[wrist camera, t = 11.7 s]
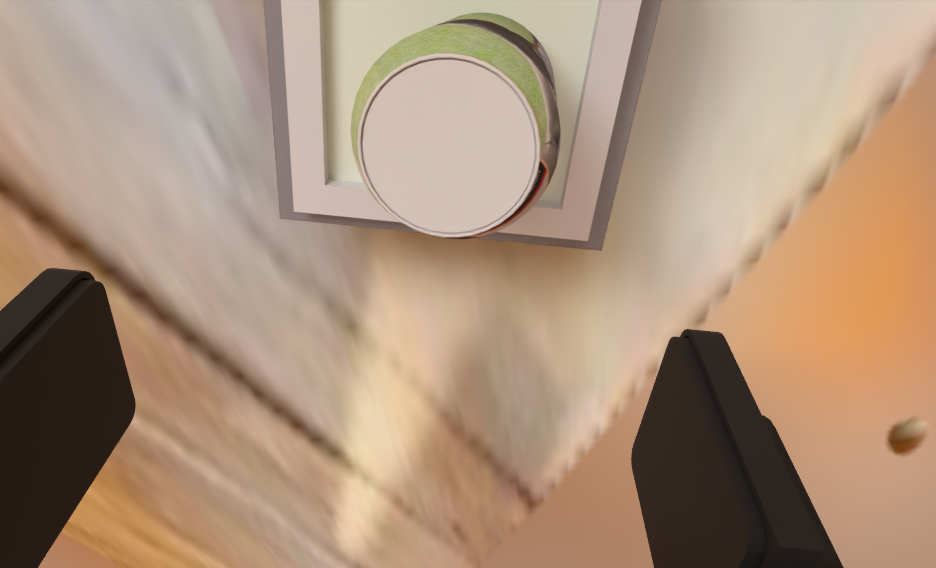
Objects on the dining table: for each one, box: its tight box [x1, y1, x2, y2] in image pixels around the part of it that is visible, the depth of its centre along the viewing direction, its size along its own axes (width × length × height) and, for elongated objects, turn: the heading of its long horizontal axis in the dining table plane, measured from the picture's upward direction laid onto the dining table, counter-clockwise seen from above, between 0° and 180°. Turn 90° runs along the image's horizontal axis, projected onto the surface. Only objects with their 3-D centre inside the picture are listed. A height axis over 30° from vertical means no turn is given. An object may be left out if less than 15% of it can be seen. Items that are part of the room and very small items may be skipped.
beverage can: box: [351, 13, 561, 239], centre depth 22 cm, size 6×7×12 cm
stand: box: [264, 0, 661, 251], centre depth 30 cm, size 16×16×9 cm
